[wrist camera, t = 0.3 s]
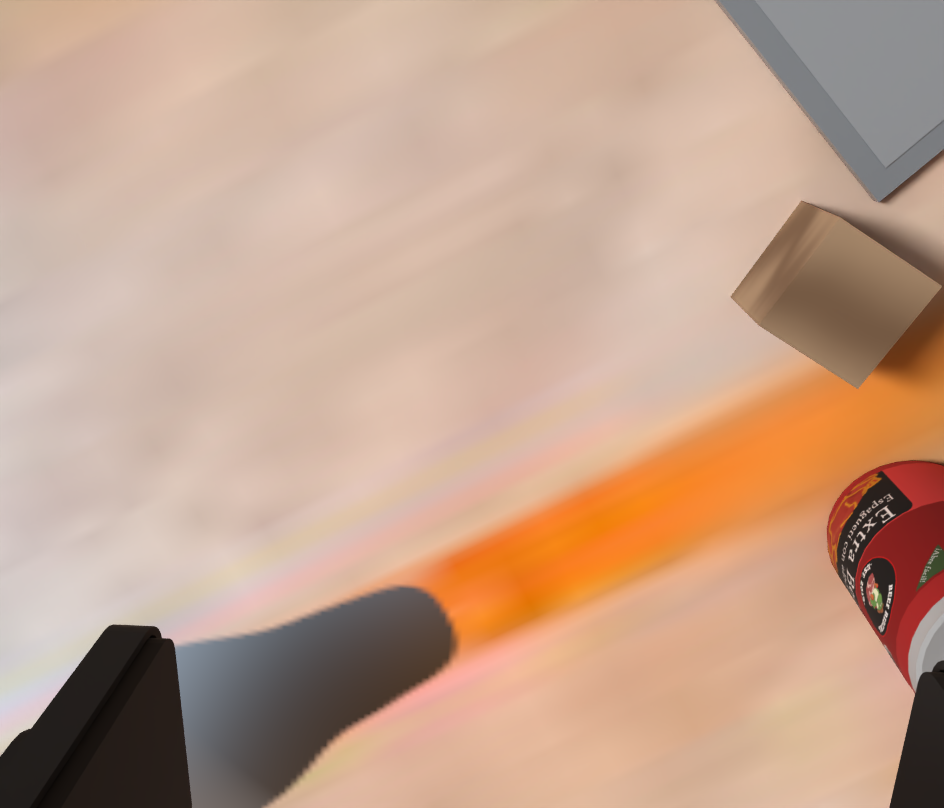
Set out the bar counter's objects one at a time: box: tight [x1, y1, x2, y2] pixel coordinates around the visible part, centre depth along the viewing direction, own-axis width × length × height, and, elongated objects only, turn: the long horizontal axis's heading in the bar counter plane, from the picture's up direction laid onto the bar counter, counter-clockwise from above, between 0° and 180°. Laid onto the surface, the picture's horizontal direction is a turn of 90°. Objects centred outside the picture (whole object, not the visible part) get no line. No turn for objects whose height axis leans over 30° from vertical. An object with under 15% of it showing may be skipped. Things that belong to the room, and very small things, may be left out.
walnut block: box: [731, 201, 942, 389], centre depth 38 cm, size 5×5×5 cm
